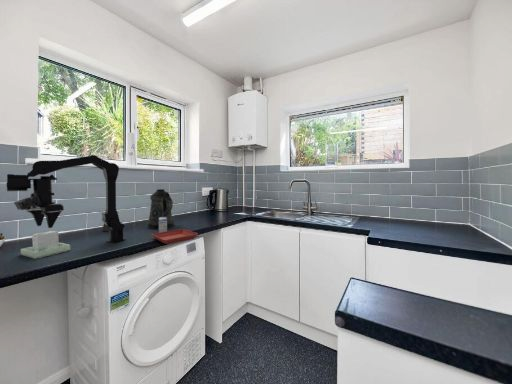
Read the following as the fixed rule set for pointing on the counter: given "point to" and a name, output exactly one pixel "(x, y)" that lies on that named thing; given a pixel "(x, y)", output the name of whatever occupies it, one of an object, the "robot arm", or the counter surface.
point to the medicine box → (162, 224)
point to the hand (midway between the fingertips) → (44, 226)
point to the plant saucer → (174, 236)
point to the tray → (45, 251)
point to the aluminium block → (45, 241)
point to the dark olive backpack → (160, 209)
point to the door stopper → (106, 227)
